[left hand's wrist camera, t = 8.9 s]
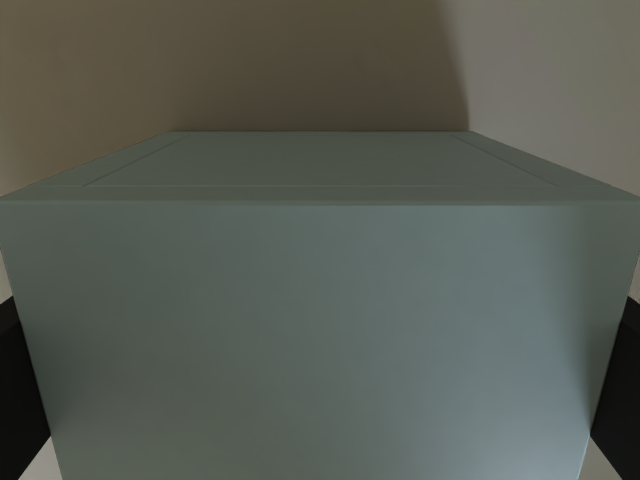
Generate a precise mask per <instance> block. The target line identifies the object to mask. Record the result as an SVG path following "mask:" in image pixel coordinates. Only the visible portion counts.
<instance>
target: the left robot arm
mask: <svg viewBox="0 0 640 480" xmlns="http://www.w3.org/2000/svg"><path fill="white" fill-rule="evenodd" d="M50 436H51V434H50V431H49V427H48V423H47V419H46V416H45V412H44V408H43V405H42V401H41V397H40V393H39V390H38V386H37V382H36V379H35V375H34V371H33V367H32V364H31V360H30V356H29V353H28V349H27V345H26V341H25V338H24V334H23V330H22V327H21V323H20V319H19V315H18V312H17V308H16V304H15V301H14V297H13V296H11V297H10V298H9V299H7V300H6V301H4V302H3V303H2V304H0V480H18V479H19V478H20V476H21V475H22V474H23V472H24V471H25V470H26V468H27V467H28V465H29V464H30V463H31V461H32V460H33V459H34V457H35V456H36V455H37V453H38V452H39V451H40V449H41V448H42V447H43V445H44V444H45V443H46V441H47V440H48V439H49V437H50ZM590 437H591V438H592V439H593V441H594V442H595V443H596V445H597V446H598V447H599V449H600V450H601V451H602V453H603V454H604V455H605V457H606V458H607V459H608V461H609V462H610V463H611V465H612V466H613V467H614V469H615V470H616V472H617V473H618V474H619V476H620V477H621V478H622V480H640V304H639V303H637V302H636V301H635V300H633V299H632V298H631V297H629V296H627V300H626V304H625V307H624V311H623V315H622V319H621V322H620V326H619V330H618V333H617V337H616V341H615V344H614V348H613V352H612V356H611V359H610V363H609V367H608V370H607V374H606V378H605V381H604V385H603V389H602V392H601V396H600V400H599V404H598V407H597V411H596V415H595V418H594V422H593V426H592V429H591V433H590Z"/></svg>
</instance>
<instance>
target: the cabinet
mask: <svg viewBox="0 0 640 480" xmlns="http://www.w3.org/2000/svg"><path fill="white" fill-rule="evenodd" d="M0 249H1V252H2V256H3V260H4V263H5V267H6V271H7V275H8V278H9V282H10V286H11V289H12V293H13V297H14V301H15V304H16V308H17V312H18V315H19V319H20V323H21V327H22V330H23V334H24V338H25V341H26V345H27V349H28V353H29V356H30V360H31V364H32V367H33V371H34V375H35V379H36V382H37V386H38V390H39V393H40V397H41V401H42V405H43V408H44V412H45V416H46V419H47V423H48V427H49V431H50V434H51V438H52V442H53V445H54V449H55V453H56V457H57V460H58V464H59V468H60V471H61V475H62V479H63V480H578V477H579V474H580V470H581V466H582V463H583V459H584V455H585V452H586V448H587V444H588V441H589V437H590V433H591V429H592V426H593V422H594V418H595V415H596V411H597V407H598V404H599V400H600V396H601V392H602V389H603V385H604V381H605V378H606V374H607V370H608V367H609V363H610V359H611V356H612V352H613V348H614V344H615V341H616V337H617V333H618V330H619V326H620V322H621V319H622V315H623V311H624V307H625V304H626V300H627V296H628V293H629V289H630V285H631V282H632V278H633V274H634V271H635V267H636V263H637V259H638V256H639V252H640V197H639V196H636V195H634V194H631V193H629V192H626V191H624V190H621V189H618V188H616V187H612V186H611V185H609V184H606V183H603V182H601V181H598V180H596V179H593V178H590V177H588V176H585V175H583V174H580V173H578V172H575V171H572V170H570V169H567V168H565V167H562V166H560V165H557V164H554V163H552V162H549V161H547V160H544V159H542V158H539V157H536V156H534V155H531V154H529V153H526V152H523V151H521V150H518V149H516V148H513V147H511V146H508V145H505V144H503V143H500V142H498V141H495V140H493V139H490V138H487V137H485V136H483V135H480V134H478V133H475V132H473V131H168V132H165V133H162V134H160V135H157V136H155V137H152V138H150V139H147V140H145V141H142V142H139V143H137V144H134V145H132V146H129V147H126V148H124V149H121V150H119V151H116V152H114V153H111V154H108V155H106V156H103V157H101V158H98V159H96V160H93V161H90V162H88V163H85V164H83V165H80V166H77V167H75V168H72V169H70V170H67V171H65V172H62V173H59V174H57V175H54V176H52V177H49V178H47V179H44V180H41V181H39V182H36V183H34V184H31V185H29V186H28V187H25V188H22V189H20V190H17V191H15V192H12V193H9V194H7V195H4V196H2V197H0Z"/></svg>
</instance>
